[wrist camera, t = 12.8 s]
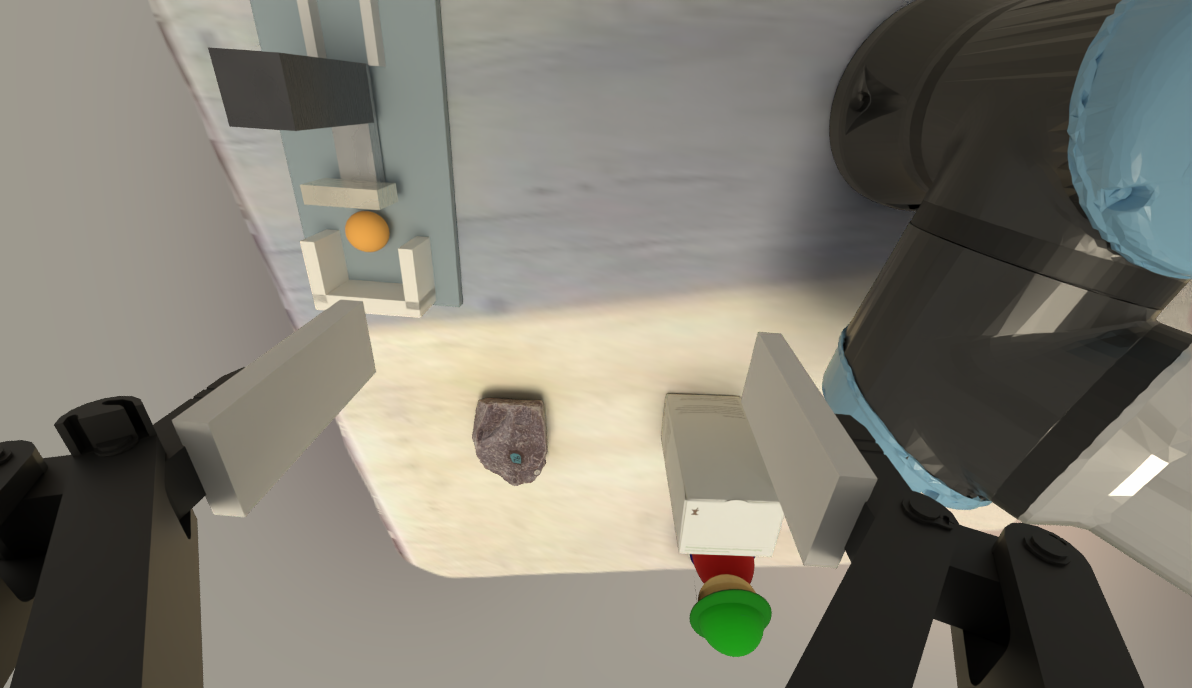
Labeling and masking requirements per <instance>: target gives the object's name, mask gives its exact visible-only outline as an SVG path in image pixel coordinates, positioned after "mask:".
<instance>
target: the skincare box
mask: <svg viewBox="0 0 1192 688" xmlns="http://www.w3.org/2000/svg"><path fill="white" fill-rule="evenodd" d="M661 441H662V448H663V454H664V460H665V467H666V474H667V480H668V487H669V493H670V499H671V506H672V512H673V519H674V525H675V531H676V538H677V544H678V551H679V553H680V554H681V553H682V554H709V555H735V556H757V557H772V556H773V552H774V549H775V545H776V542H777V539H778V535H779V532H780V529H781V525H782V522H783V518H784V513H783V510H782V507H781V505H780V502H779V500H778V497H777V494H776V492H775V489H774V487H773V484H772V481H771V479H770V476H769V474H768V471H767V468H766V466H765V463H764V461H763V458H762V455H761V453H760V450H759V447H758V445H757V442H756V440H755V437H754V434H753V432H752V429H751V427H750V424H749V421H748V419H747V416H746V414H745V411H744V408H743V406H742V403H741V398H740V397H739V396H715V395H687V394H667V395H666V399H665V407H664V416H663V425H662V435H661Z"/></svg>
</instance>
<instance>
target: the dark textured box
mask: <svg viewBox="0 0 1192 688" xmlns="http://www.w3.org/2000/svg"><path fill="white" fill-rule="evenodd" d="M208 49H209V53H210V56H211V60H212V64H213V67H214V71H215V75H216V78H217V82H218V86H219V89H220V93H221V96H222V100H223V104H224V107H225V111H226V115H227V118H228V122H229V126H232V127H246V128H260V129H274V130H288V131H301V130H310V129H320V128H329V127H332V133H333V138H334V144H335V149H336V155H337V160H338V165H339V171H340V176H341V179H334V178H322V179H318V180H315V181H311V182H307V183H304V184H300V188H301V192H302V197H303V201H304V204H305V205H318V206H332V207H345V208H358V209H372V210H381V209H383V208H385V207H388V206H390V205H392V204H394V203H396V202H398V196H397V189H396V183H388V182H385V176H384V169H383V162H382V155H381V148H380V141H379V134H378V127H377V120H376V113H375V105H374V98H373V91H372V84H371V77H370V70H369V65H368V64H366V63H358V62H350V61H342V60H334V59H326V58H318V57H310V56H303V55H295V54H287V53H279V52H265V51H250V50H236V49H221V48H208Z"/></svg>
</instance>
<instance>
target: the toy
mask: <svg viewBox="0 0 1192 688" xmlns="http://www.w3.org/2000/svg"><path fill="white" fill-rule="evenodd" d="M690 558H691V561H692V562H693V564H694V566H695V568H696V571H697V573H698V575H699V577H700V578H701V580H702V582H703V583H704V585H703V587H702V588H701V590H700V592H699V597H698V602H697V603H696V604H695V605H694V607H693V608H692V610H691V613H690V624H691V626H692V628H693V629H694V631H695V632H696V633H697V634H699V635H700V636H702V637H704V638H705V639H706V640H707V641H708V643H709V644H710V645H711V646H712V647H713V648H714V649H716V650H717V651H719V652H721V653H722V654H725V655H727V656H732V657H740V656H744V655H747V654H749V653H751V652H752V651H754V649H756V647H757V646H758V645H759V643H760V641H761V639H762V636H763V631H764V629H765V628H766V626H767V625H768V624H769V622H770V620H771V613H772V612H771V607H770V605H769V603H768V602H767V601H766V600H765V599H764V598H763V597H762V596H760V595H759V594H757V593H756V592H755V591H754V589H753V588H752V586H751V585H750V583H751V580H752V578H753V574H754V558H755V556H735V555H709V554H690Z"/></svg>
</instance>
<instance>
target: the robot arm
mask: <svg viewBox="0 0 1192 688" xmlns="http://www.w3.org/2000/svg"><path fill="white" fill-rule="evenodd" d="M830 144H831V150H832V154H833V157H834V160H835V163H836V165H837V167H838V169H839V171H840V173H841V175H842V176H843V178H844V179H845V180H846V181H847V183H848V184H849V185H850V186H851V187H852V188H853V189H854V190H856V191H857V192H858V193H860V194H861V195H863V196H864V197H866V198H868V199H870V200H872V201H875V202H877V203H880V204H882V205H885V206H888V207H891V208H895V209H900V210H908V211H916V213H915V215H914V217H913V218H912V220H911V221H910V222H909V224H908V226H907V228H906V229H905V231H904V233H903V234H902V236H901V238H900V240H899V241H898V243H897V245H896V247H895V248H894V250H893V252H892V253H891V255H890V257H889V259H888V260H887V262H886V264H885V266H884V267H883V269H882V271H881V272H880V274H879V276H878V277H877V279H876V281H875V282H874V284H873V286H872V287H871V289H870V291H869V292H868V294H867V296H866V297H865V299H864V301H863V302H862V304H861V306H860V307H859V309H858V311H857V312H856V314H855V316H854V317H853V319H852V321H851V322H850V324H848V325H847V327H846V328H845V329H843V331H842V333H841V335H840V337H839V342H838V348H837V349H836V351H835V353H834V355H833V357H832V359H831V361H830V363H829V365H828V367H827V369H826V371H825V373H824V376H823V381H822V391H823V395H824V397H823V396H822V394H821V393H820V391H819V390H818V388H817V387H816V385H815V384H814V382H813V381H812V379H811V378H810V376H809V375H808V373H807V372H806V370H805V369H804V367H803V366H802V364H801V363H800V361H799V360H798V358H797V357H796V355H795V354H794V352H793V351H792V349H791V348H790V346H789V345H788V343H787V342H786V340H785V339H784V337H783V335H782V334H778V333H765V332H758V334H757V338H756V342H755V346H754V350H753V354H752V358H751V362H750V366H749V370H748V374H747V378H746V382H745V386H744V390H743V394H742V398H741V403H742V406H743V408H744V411H745V414H746V416H747V419H748V421H749V424H750V427H751V429H752V432H753V434H754V437H755V440H756V442H757V445H758V447H759V450H760V453H761V455H762V458H763V461H764V463H765V466H766V468H767V471H768V474H769V476H770V479H771V481H772V484H773V487H774V489H775V492H776V494H777V497H778V500H779V502H780V505H781V507H782V510H783V513H784V515H785V518H786V520H787V523H788V526H789V528H790V531H791V533H792V536H793V539H794V541H795V544H796V547H797V549H798V552H799V554H800V557H801V560H802V562H803V565H805V566H817V567H828V568H837V567H838V565H839V563H840V561H841V559H842V556H843V554H844V552H845V551H846V553H847V555H848V557H849V559H850V561H851V565H850V567H849V568H848V570H847V572H846V574H845V576H844V578H843V580H842V582H841V584H840V585H839V587H838V589H837V591H836V593H835V595H834V597H833V599H832V600H831V602H830V604H829V606H828V608H827V610H826V612H825V614H824V615H823V617H822V619H821V621H820V623H819V625H818V627H817V629H816V631H815V632H814V634H813V636H812V638H811V640H810V642H809V644H808V646H807V647H806V649H805V651H804V653H803V655H802V657H801V659H800V661H799V663H798V664H797V667H796V668H795V670H794V672H793V674H792V676H791V678H790V680H789V681H788V683H787V685H786V687H785V688H912V687H913V683H914V680H915V677H916V673H917V670H918V667H919V663H920V660H921V657H922V654H923V650H924V647H925V644H926V640H927V637H928V634H929V631H930V627H931V624H932V621H933V619H935V620H938V621H941V622H944V623H946V624H949V625H951V633H952V642H953V650H954V660H955V667H956V677H957V686H958V688H1144V686H1143V683H1142V681H1141V679H1140V677H1139V674H1138V672H1137V670H1136V667H1135V665H1134V663H1133V661H1132V659H1131V656H1130V654H1129V652H1128V649H1127V647H1126V645H1125V643H1124V640H1123V638H1122V636H1121V634H1120V631H1119V629H1118V627H1117V624H1116V622H1115V620H1114V618H1113V615H1112V613H1111V611H1110V608H1109V606H1108V604H1107V602H1106V599H1105V598H1104V595H1103V593H1102V590H1101V588H1100V586H1099V584H1098V581H1097V579H1096V577H1095V574H1094V572H1093V570H1092V568H1091V566H1090V564H1089V563H1088V561H1087V560H1086V559H1085V557H1084V556H1083V555H1082V554H1081V553H1080V552H1079V551H1078V550H1077V549H1075V548H1074V547H1073V546H1072V545H1071V544H1070V543H1068V542H1067V541H1066V540H1064V539H1063V538H1060V537H1059V536H1057V535H1056V534H1054V533H1052V532H1049V531H1047V530H1044V529H1042V528H1040V527H1038V526H1033V525H1030V524H1037V525H1039V524H1040V525H1060V526H1074V527H1078V528H1082V529H1086V530H1089V531H1091V532H1092V533H1093V534H1095V535H1096V536H1098V537H1100V538H1101V539H1103V540H1104V541H1106V542H1107V543H1109V544H1110V545H1112V546H1114V547H1115V548H1117V549H1118V550H1120V551H1121V552H1123V553H1124V554H1126V555H1128V556H1129V557H1131V558H1132V559H1134V560H1135V561H1137V562H1138V563H1140V564H1141V565H1143V566H1145V567H1146V568H1148V569H1149V570H1151V571H1152V572H1154V573H1156V574H1157V575H1159V576H1160V577H1162V578H1164V579H1165V580H1166V581H1168V582H1169V583H1171V584H1173V585H1174V586H1176V587H1177V588H1179V589H1180V590H1182V591H1183V592H1185V593H1187V594H1188V595H1190V596H1191V597H1192V335H1191V334H1188V333H1186V332H1183V331H1180V330H1178V329H1175V328H1172V327H1170V326H1167V325H1164V324H1162V323H1160V322H1158V321H1157V320H1156V318H1157V316H1158V315H1159V314H1160V313H1161V311H1162V310H1163V309H1164V308H1165V307H1166V306H1167V305H1168V303H1169V302H1170V301H1171V300H1172V299H1173V298H1174V297H1175V296H1176V295H1177V294H1178V293H1179V292H1180V290H1181V289H1182V288H1183V287H1184V286H1185V285H1186V284H1187V283H1188V282H1189V281H1190V280H1191V279H1192V0H916V1H914V2H912V3H910V4H908V5H907V6H905V7H903V8H902V9H900V10H899V11H897V12H896V13H895V14H893V15H892V16H891V17H889V18H888V19H887V20H886V21H884V22H883V23H882V24H881V25H880V26H879V27H878V28H877V29H876V30H875V31H874V32H873V33H872V34H871V35H870V36H869V37H868V38H867V39H866V41H865V42H864V43H863V44H862V46H861V47H860V48H859V49H858V51H857V52H856V54H855V55H854V57H853V58H852V60H851V61H850V63H849V65H848V67H847V68H846V70H845V72H844V74H843V76H842V78H841V81H840V83H839V86H838V88H837V91H836V94H835V97H834V101H833V105H832V110H831V116H830ZM375 372H376V369H375V364H374V359H373V353H372V348H371V342H370V337H369V331H368V326H367V320H366V315H365V309H364V304H363V301H354V300H341V299H340V300H339V301H337V302H336V303H335V304H333V305H332V306H330V307H329V308H328V309H326V310H325V311H323V312H322V313H321V314H319V315H318V316H316V317H315V318H314V319H312V320H311V321H309V322H308V323H307V324H305V325H304V326H303V327H301V328H300V329H298V330H297V331H296V332H294V333H293V334H291V335H290V336H289V337H287V338H286V339H284V340H283V341H282V342H280V343H279V344H277V345H276V346H275V347H273V348H272V349H270V350H269V351H268V352H266V353H265V354H264V355H262V356H261V357H259V358H258V359H257V360H255V361H254V362H252V363H251V364H249V365H248V366H247V367H243V368H241V369H238V370H236V371H234V372H231V373H229V374H227V375H224V376H223V377H221V378H219V379H218V380H217V381H215V382H214V383H212V384H211V385H209V386H208V387H207V389H206V390H202V391H201V392H199V393H198V394H197V395H195V396H194V398H193V399H190V400H188V401H186V402H185V403H184V404H182V405H181V406H179V407H178V408H176V409H175V410H174V411H172V412H171V413H169V414H168V415H166V416H165V417H164V418H162V419H161V420H159V421H158V422H156V423H155V424H154V425H152V423H151V420H150V418H149V416H148V414H147V412H146V410H145V407H144V405H143V403H142V402H141V399H139V398H136V397H133V396H117V397H110V398H104V399H100V400H97V401H94V402H90V403H87V404H84V405H82V406H80V407H77V408H75V409H73V410H71V411H69V412H68V413H66V414H65V415H63V416H61V417H60V418H59V419H58V420H57V422H56V423H55V424H54V426H55V428H56V429H57V431H58V433H59V434H60V436H61V438H62V439H63V441H64V443H65V445H66V446H67V448H68V449H69V451H70V453H71V455H66V456H58V457H51V458H42V457H41V455H40V453H39V452H38V450H37V449H36V447H35V446H34V444H33V443H32V442H28V441H23V440H18V441H6V442H1V443H0V688H3V687H4V685H5V684H6V682H7V680H8V679H9V677H10V675H11V674H12V672H13V670H14V668H15V671H14V674H13V678H12V682H11V685H10V688H203V663H202V662H203V661H202V634H201V607H200V581H199V553H198V527H197V518H196V516H195V514H194V512H193V509H192V508H193V507H194V506H195V505H196V504H197V503H198V502H199V501H200V500H201V499H202V498H203V497H204V496H206V499H207V501H208V503H209V505H210V508H211V510H212V512H213V514H214V515H227V516H238V517H246V516H247V514H249V513H250V511H251V510H252V509H253V508H254V507H255V506H256V505H257V503H258V502H259V501H260V500H261V499H262V498H263V497H264V496H265V495H266V494H267V492H268V491H269V490H270V489H271V488H272V487H273V486H274V485H275V484H276V482H277V481H278V480H279V479H280V478H281V477H282V476H283V474H284V473H285V472H286V471H287V470H288V469H289V468H290V467H291V466H292V465H293V463H294V462H295V461H296V460H297V459H298V458H299V457H300V456H301V455H302V454H303V452H304V451H305V450H306V449H307V448H308V447H309V446H310V445H311V444H312V442H313V441H314V440H315V439H316V438H317V437H318V436H319V435H320V434H321V432H322V431H323V430H324V429H325V428H326V427H327V426H328V425H329V423H330V422H331V421H332V420H333V419H334V418H335V417H336V416H337V415H338V414H339V412H340V411H341V410H342V409H343V408H344V407H345V406H346V405H347V404H348V402H349V401H350V400H351V399H352V398H353V397H354V396H355V395H356V394H357V392H358V391H359V390H360V389H361V388H362V387H363V386H364V385H365V384H366V382H367V381H368V380H369V379H370V378H371V377H372V376H373V375H374V374H375ZM824 398H825V399H824ZM920 492H922V493H923V494H921V493H920ZM992 502H993V503H994V504H996V505H997V506H999V507H1000V508H1002V509H1003V510H1005V511H1006V512H1008V513H1009V514H1011V515H1012V516H1013V517H1015V518H1016V519H1018V520H1020V521H1021V522H1022V523H1011V524H1009V525H1008V526H1006V527H1005V528H1004V530H1003V531H1002V533H1001V534H1000V536H999V537H997V536H994V535H991V534H987V533H984V532H981V531H978V530H974V529H971V528H968V527H964V526H962V525H959V523H958V521H957V520H956V518H955V517H954V515H953V514H952V513H951V512H950V511H949V510H948V509H947V508H946V507H948V508H952V509H957V510H971V509H975V508H978V507H982V506H987V505H989V504H990V503H992Z"/></svg>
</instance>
